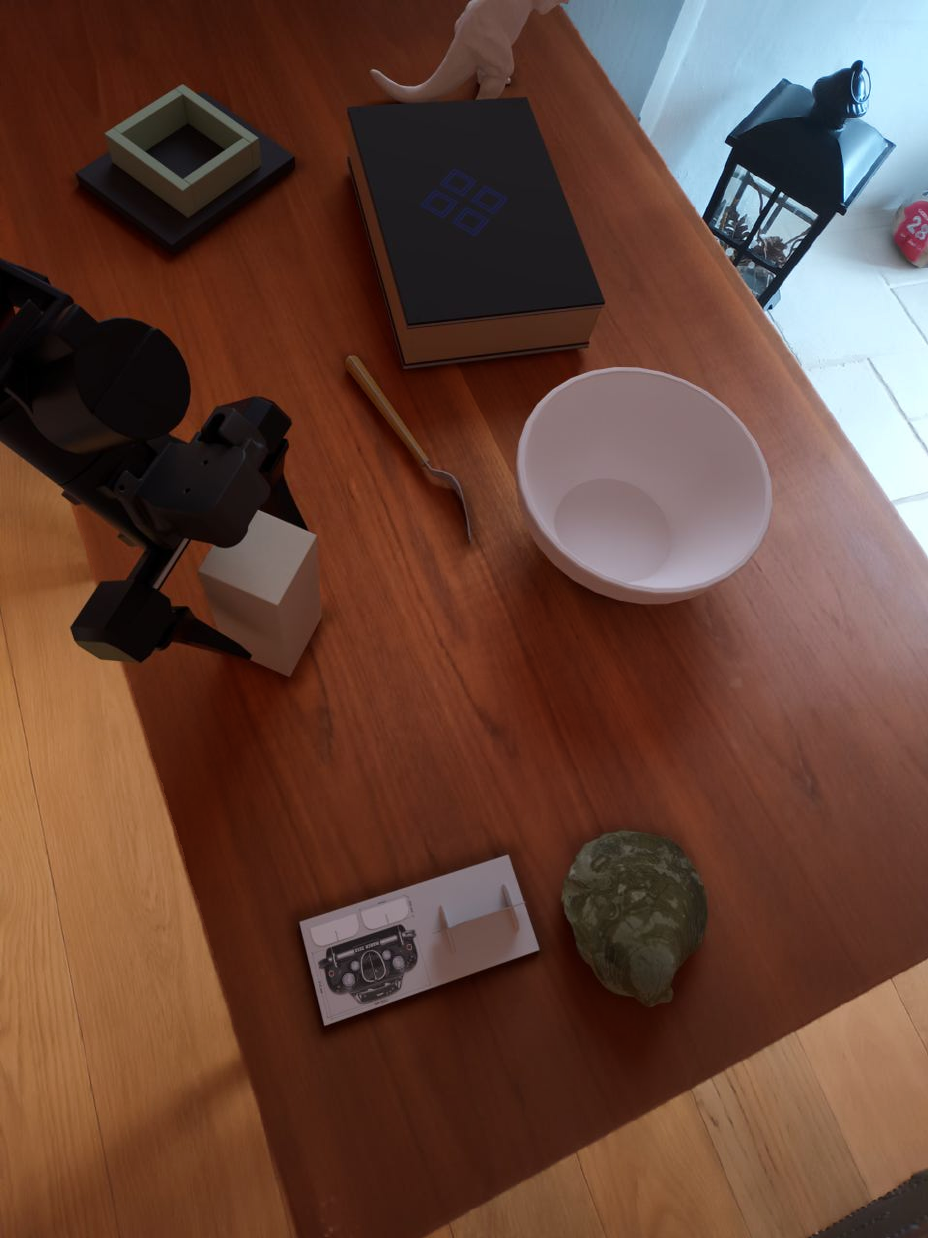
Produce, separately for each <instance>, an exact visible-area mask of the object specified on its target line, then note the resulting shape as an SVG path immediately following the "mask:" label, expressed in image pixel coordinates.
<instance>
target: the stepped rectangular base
mask: <svg viewBox="0 0 928 1238" xmlns="http://www.w3.org/2000/svg"><path fill="white" fill-rule="evenodd" d="M104 137H105V140H106V144H107V147H108V151H107V152H106V153H104V154H103V155H101V156H99V157H98V158H96V159H95V160H93V161H92V162H90V163H89V164H86V165H85V166H84V167H82V168H81V169H78V170H77V171H76V172H75V176H76V178H77V183H78V184H79V185H80V186H81V187H83V188H84V189H85V190H86V191H88V192H89V193H91V194H92V195H93V196H94V197H96V198H97V199H99V200H100V201H101V202H103V203H104V204H105V205H107V206H108V207H110V208H111V210H113V211H115V213H117V214H119V215H120V216H121V217H123V218H124V219H125V220H127V221H128V222H129V223H131V224H132V225H133V226H135V227H136V228H137V229H138V230H140V232H143V233H144V234H145V235H146V236H148V237H149V238H151V239H152V240H153V241H154V242H156V243H157V244H159V245H160V246H161V247H162V248H164V249H165V250H166V251H168V252H169V253H171V254H172V255H174V256H175V255H176V254H178V253H179V252H181V251H182V250H183V249H185V248H186V247H187V246H188V245H190V244H191V243H193V242H194V241H195V240H196V239H198V238H199V237H201V236H202V235H204V234H206V232H207V231H209V230H210V229H212V228H213V227H215V226H216V225H217V224H219V223H220V222H222V221H223V220H224V219H226V218H227V217H228V216H229V215H231V214H233V212H235V211H236V210H238V209H239V208H241V207H242V206H243V205H245V204H247V202H249V201H250V200H252V199H253V198H254V197H256V196H257V195H258V194H260V193H261V192H262V191H264V190H265V189H267V188H268V187H269V186H270V185H272V184H273V183H275V182H276V181H278V180H279V179H280V178H282V177H283V176H285V175H286V174H287V173H289V172H290V171H291V170H293V169H294V168H295V167H296V156H295V155H294V154H293V153H291V151H288V150H287V149H286V148H284V147H283V146H281V145H280V144H279V143H278V142H276V141H274V140H273V139H271V138H270V137H269V136H267V135H266V134H264V133H263V132H262V131H260V130H259V129H258V128H256V127H255V126H253V125H251V124H250V123H249V122H247V121H246V120H245V119H243V118H242V117H240V116H239V115H238V114H236V113H235V112H234V111H232V110H230V108H228V107H226V106H225V105H224V104H222V103H221V102H219V101H218V100H217V99H215V98H214V97H212V96H211V95H209V94H208V93H206V92H205V91H204V90H202V91H200V92H199V93H196V92H195V91H193V90H192V89H191V88H189V87H187V86H186V85H185V84H180V85H179V86H177V87H176V88H174V89H172V90H171V91H168V93H166V94H164V95H162V96H161V97H159V98H158V99H157V100H155V101H153V102H152V103H150V104H148V105H146V106H145V107H143V108H142V109H140V110H139V111H137V112H135V113H134V114H133V115H131V116H129V117H128V118H126V119H125V120H123V121H121V122H119V124H117V125H115V126H114V127H112V128H111V129H109V130H107V131H106V132H104Z"/></svg>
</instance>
